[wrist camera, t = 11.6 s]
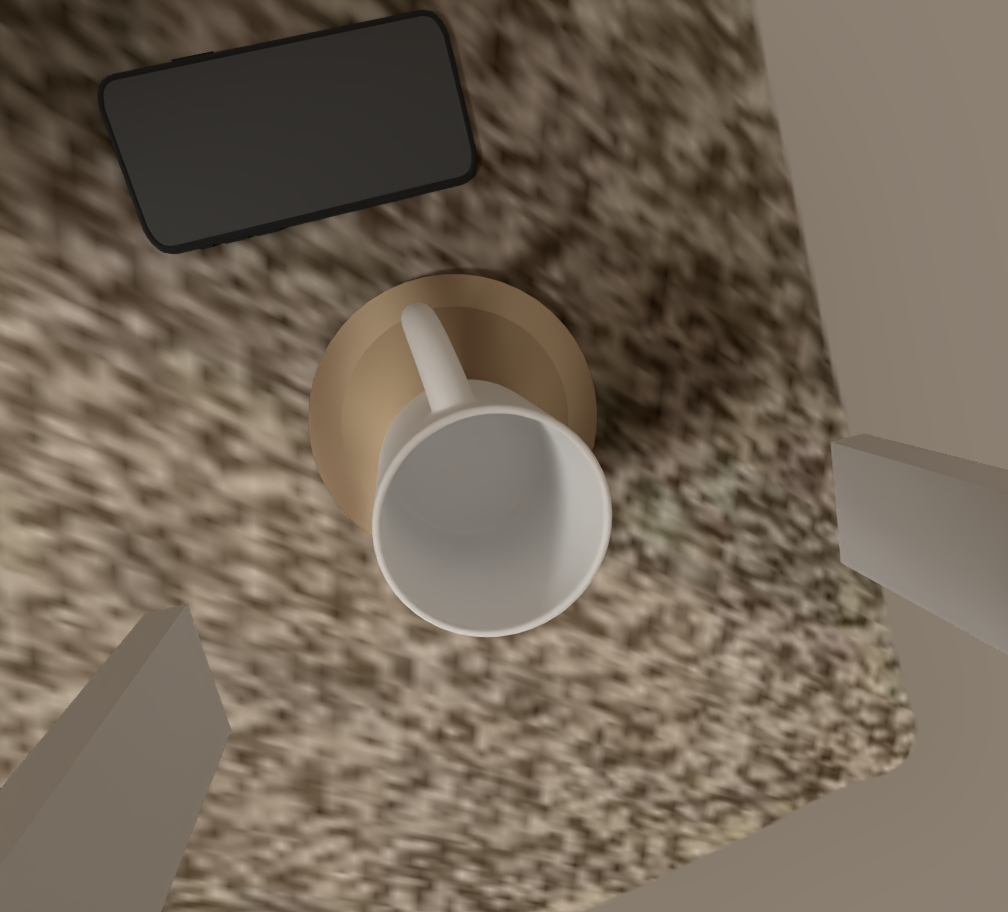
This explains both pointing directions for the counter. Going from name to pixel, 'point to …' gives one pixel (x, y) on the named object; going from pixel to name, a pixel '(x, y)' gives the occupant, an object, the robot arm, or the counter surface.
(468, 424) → the mug
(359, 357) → the coaster
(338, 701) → the counter surface
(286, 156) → the smartphone
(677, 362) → the counter surface
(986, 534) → the robot arm
